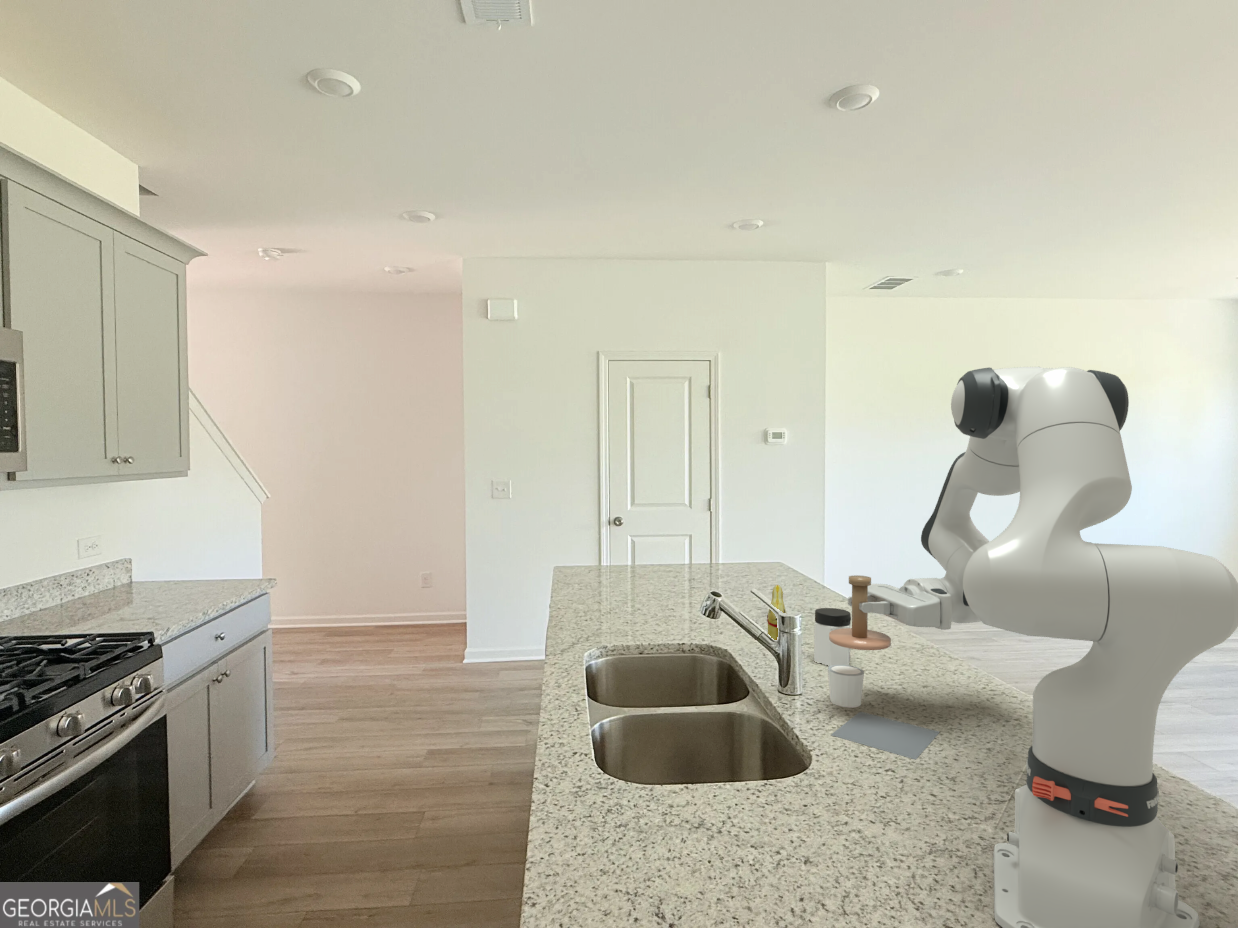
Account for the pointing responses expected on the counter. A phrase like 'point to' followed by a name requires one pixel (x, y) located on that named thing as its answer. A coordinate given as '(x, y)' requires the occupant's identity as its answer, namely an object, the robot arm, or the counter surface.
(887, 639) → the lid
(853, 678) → the shot glass
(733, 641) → the counter surface
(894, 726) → the mat
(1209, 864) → the counter surface
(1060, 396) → the robot arm
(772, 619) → the chocolate bunny
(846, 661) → the jar
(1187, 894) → the counter surface
